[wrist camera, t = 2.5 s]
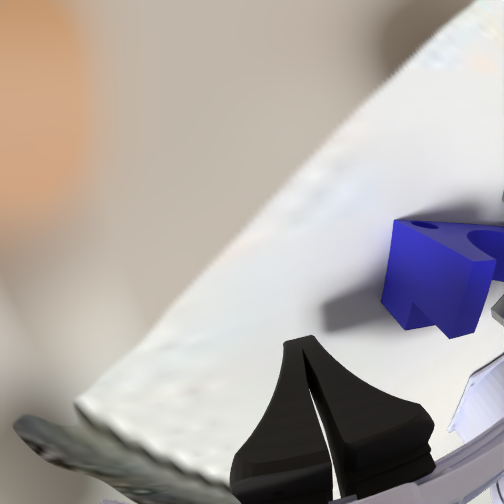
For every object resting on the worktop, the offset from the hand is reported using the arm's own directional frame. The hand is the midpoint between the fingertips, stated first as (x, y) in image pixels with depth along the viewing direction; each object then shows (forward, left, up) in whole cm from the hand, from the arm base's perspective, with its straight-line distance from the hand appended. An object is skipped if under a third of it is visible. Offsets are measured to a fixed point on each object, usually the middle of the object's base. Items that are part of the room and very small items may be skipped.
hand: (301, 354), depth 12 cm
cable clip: (+1, -11, -3) cm, 12 cm away
